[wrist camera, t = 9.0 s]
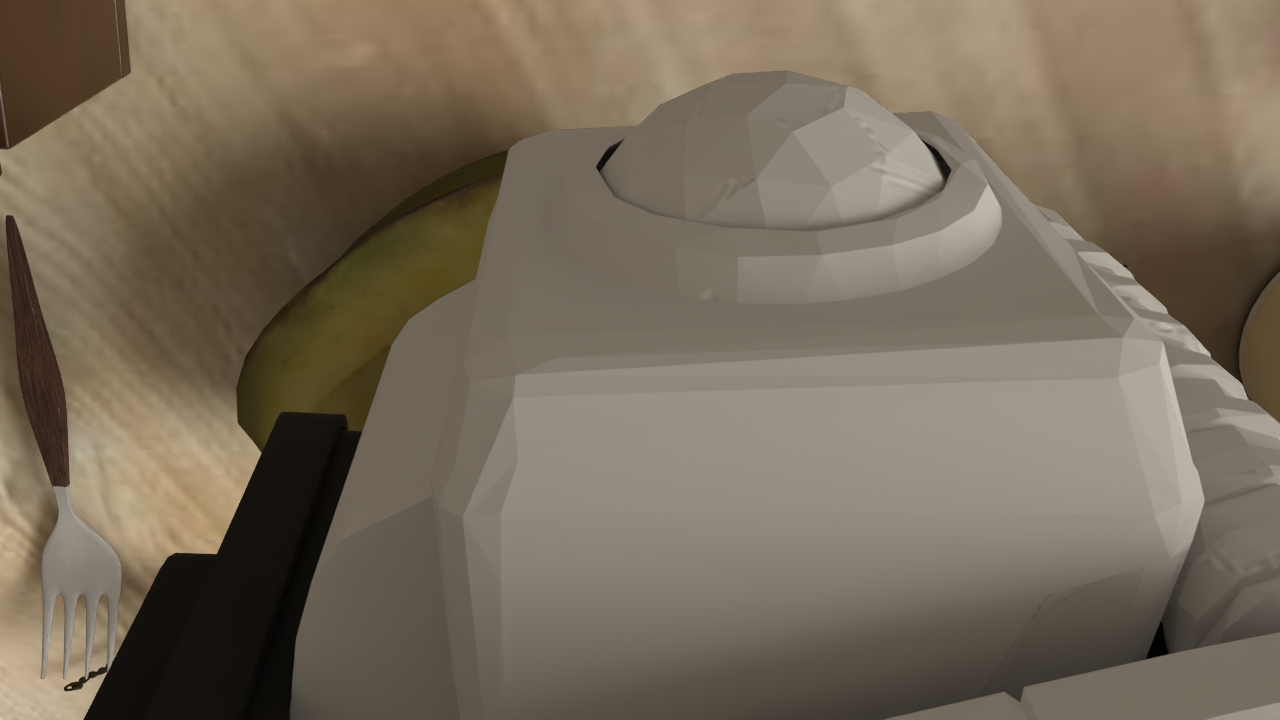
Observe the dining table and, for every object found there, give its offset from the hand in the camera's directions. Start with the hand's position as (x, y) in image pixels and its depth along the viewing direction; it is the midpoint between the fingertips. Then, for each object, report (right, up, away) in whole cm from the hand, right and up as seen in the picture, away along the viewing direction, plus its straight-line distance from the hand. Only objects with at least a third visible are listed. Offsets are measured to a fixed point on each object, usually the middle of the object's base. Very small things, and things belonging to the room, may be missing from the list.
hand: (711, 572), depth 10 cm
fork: (-19, -1, +25) cm, 32 cm away
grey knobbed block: (0, +4, -4) cm, 6 cm away
